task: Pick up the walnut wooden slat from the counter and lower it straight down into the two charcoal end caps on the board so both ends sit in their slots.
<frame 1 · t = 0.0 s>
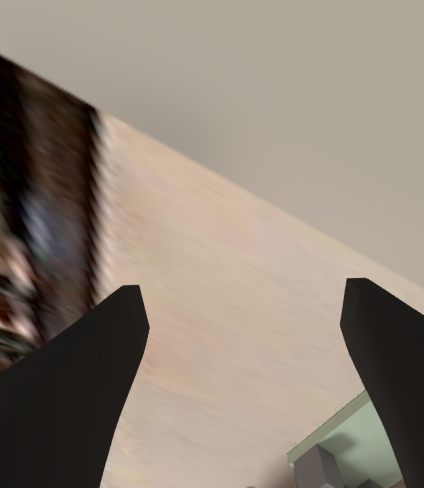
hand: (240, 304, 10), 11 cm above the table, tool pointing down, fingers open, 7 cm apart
end caps: (392, 463, 22), on the base board, point 2 cm above the table
base board: (377, 433, 24), on the table
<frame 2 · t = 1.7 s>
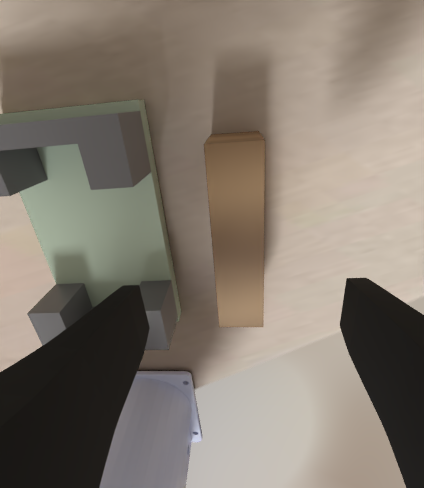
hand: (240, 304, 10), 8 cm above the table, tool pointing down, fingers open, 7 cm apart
end caps: (86, 245, 16), on the base board, point 2 cm above the table
slat: (237, 219, 17), on the table
base board: (105, 227, 18), on the table
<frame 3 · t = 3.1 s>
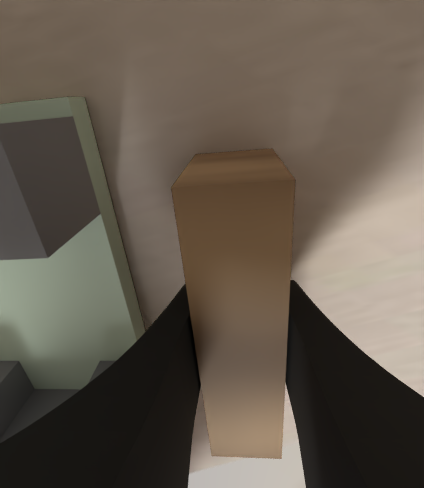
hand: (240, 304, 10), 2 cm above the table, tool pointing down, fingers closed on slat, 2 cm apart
end caps: (3, 326, 10), on the base board, point 2 cm above the table
slat: (239, 278, 11), on the table, touching gripper
base board: (44, 285, 12), on the table
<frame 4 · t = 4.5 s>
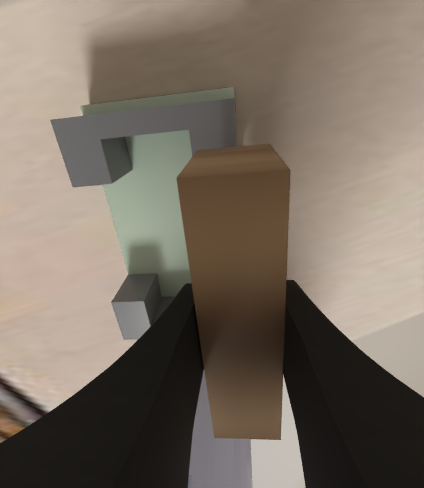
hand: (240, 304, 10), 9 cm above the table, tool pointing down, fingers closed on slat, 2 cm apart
end caps: (172, 234, 16), on the base board, point 2 cm above the table
slat: (239, 269, 12), point 7 cm above the table, touching gripper
base board: (179, 217, 18), on the table
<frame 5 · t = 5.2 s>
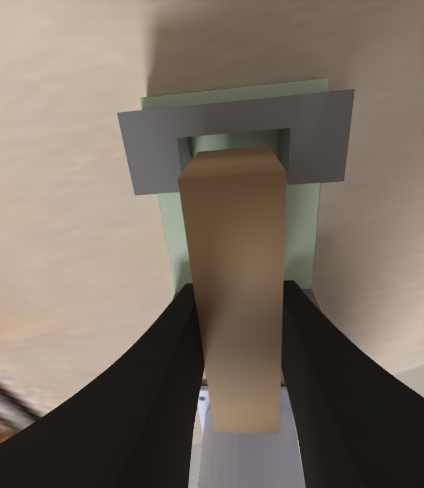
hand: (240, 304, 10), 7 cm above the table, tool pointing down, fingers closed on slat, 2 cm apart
end caps: (239, 250, 14), on the base board, point 2 cm above the table
slat: (239, 268, 12), point 4 cm above the table, touching gripper
base board: (238, 229, 16), on the table
when the fingers open (4 cm above the table, at t = 5.8 s): slat stays where it is, resting on base board.
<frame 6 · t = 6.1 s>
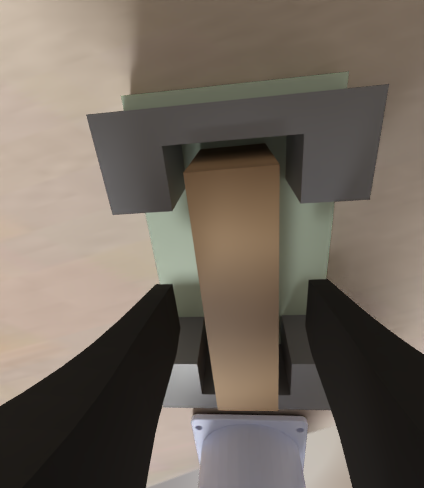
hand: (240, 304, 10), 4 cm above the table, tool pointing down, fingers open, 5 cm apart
end caps: (239, 275, 12), on the base board, point 2 cm above the table
slat: (239, 258, 13), point 1 cm above the table, touching base board
base board: (239, 247, 14), on the table
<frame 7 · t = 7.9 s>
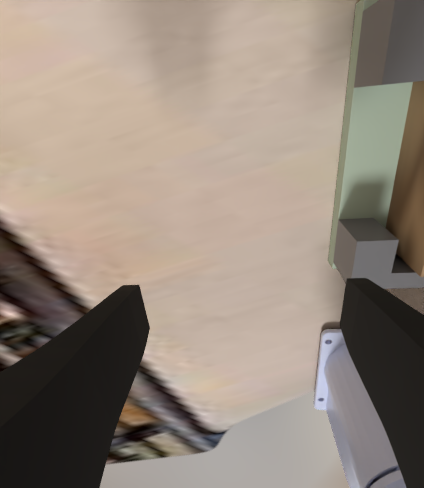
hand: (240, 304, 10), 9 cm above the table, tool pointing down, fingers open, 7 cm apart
slat: (423, 156, 15), point 1 cm above the table, touching base board
base board: (413, 151, 16), on the table
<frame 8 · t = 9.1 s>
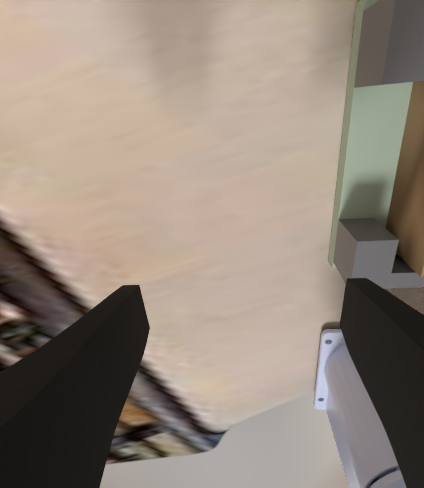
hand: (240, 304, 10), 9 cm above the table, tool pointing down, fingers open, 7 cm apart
slat: (423, 156, 15), point 1 cm above the table, touching base board
base board: (413, 151, 16), on the table
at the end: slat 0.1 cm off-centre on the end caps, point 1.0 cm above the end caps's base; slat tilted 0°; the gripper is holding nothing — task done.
